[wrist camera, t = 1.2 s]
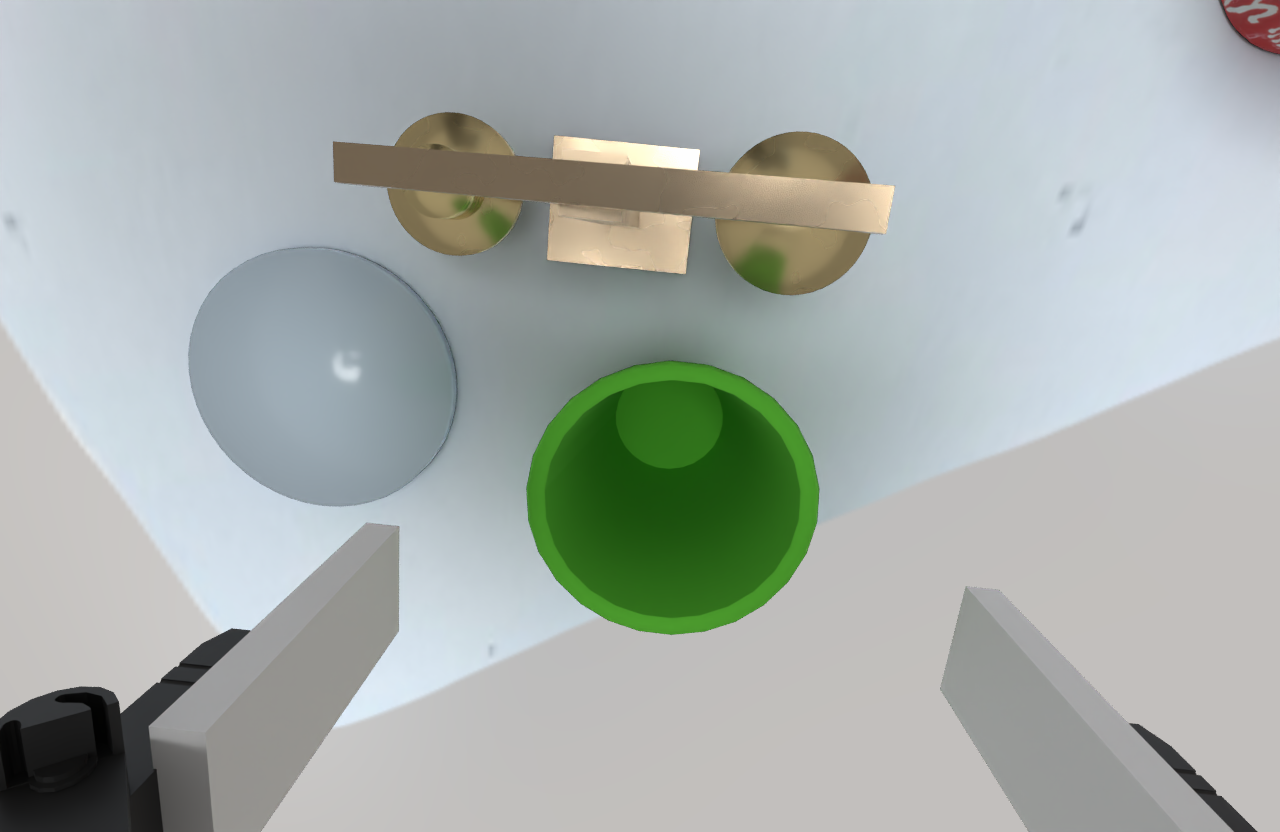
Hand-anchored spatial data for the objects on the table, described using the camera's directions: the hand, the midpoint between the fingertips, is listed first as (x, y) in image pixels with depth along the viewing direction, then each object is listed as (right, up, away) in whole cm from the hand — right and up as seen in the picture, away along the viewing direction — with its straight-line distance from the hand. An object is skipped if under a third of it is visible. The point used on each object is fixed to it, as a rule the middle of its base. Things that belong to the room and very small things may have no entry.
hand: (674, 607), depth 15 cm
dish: (-15, +6, +16) cm, 23 cm away
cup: (+1, +5, +16) cm, 16 cm away
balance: (-2, +13, +13) cm, 19 cm away
